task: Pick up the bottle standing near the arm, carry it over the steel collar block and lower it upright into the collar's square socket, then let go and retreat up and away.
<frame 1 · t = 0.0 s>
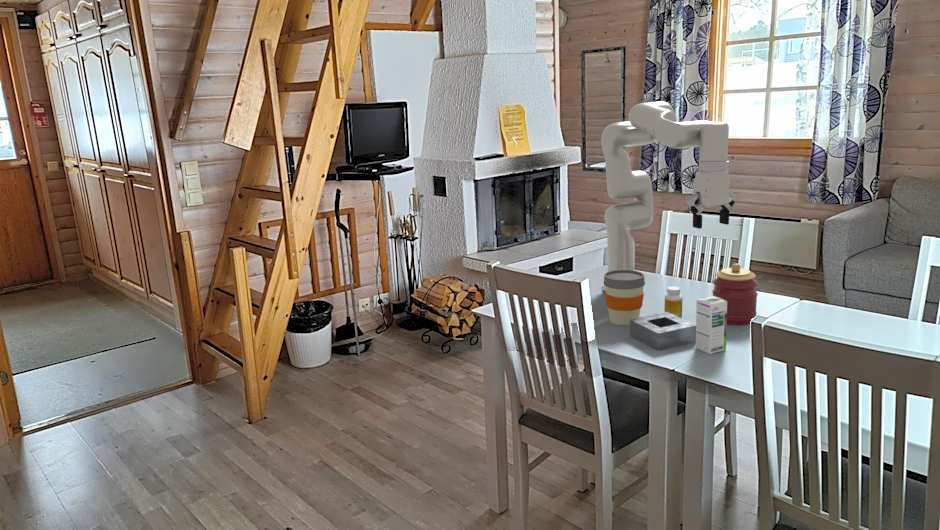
hand: (710, 225, 192), 31 cm above the table, fingers open, 9 cm apart
syrup box: (710, 350, 183), on the table
reusable coffee cup: (624, 321, 209), on the table
supplement bottle: (673, 318, 210), on the table
canister: (733, 319, 206), on the table
steel collar: (662, 338, 193), on the table
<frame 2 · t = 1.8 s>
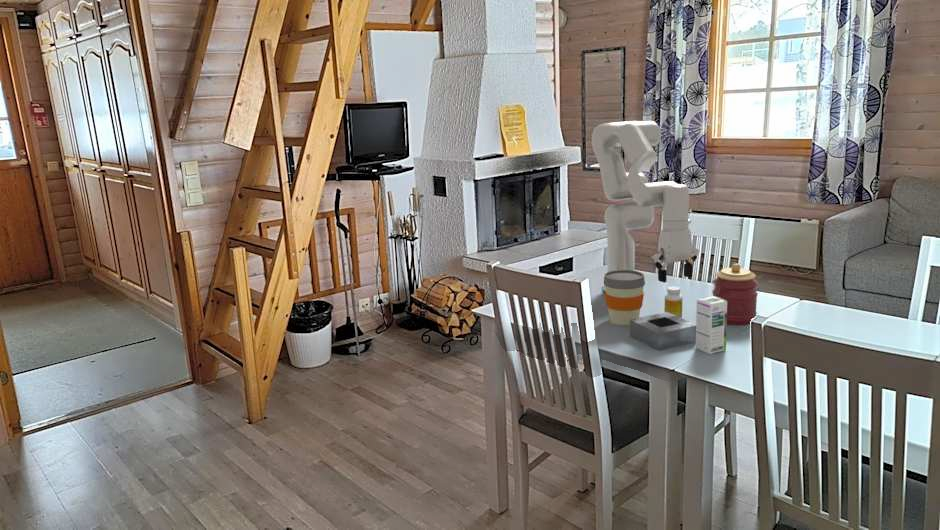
hand: (675, 279, 206), 13 cm above the table, fingers open, 9 cm apart
nothing on the table moved.
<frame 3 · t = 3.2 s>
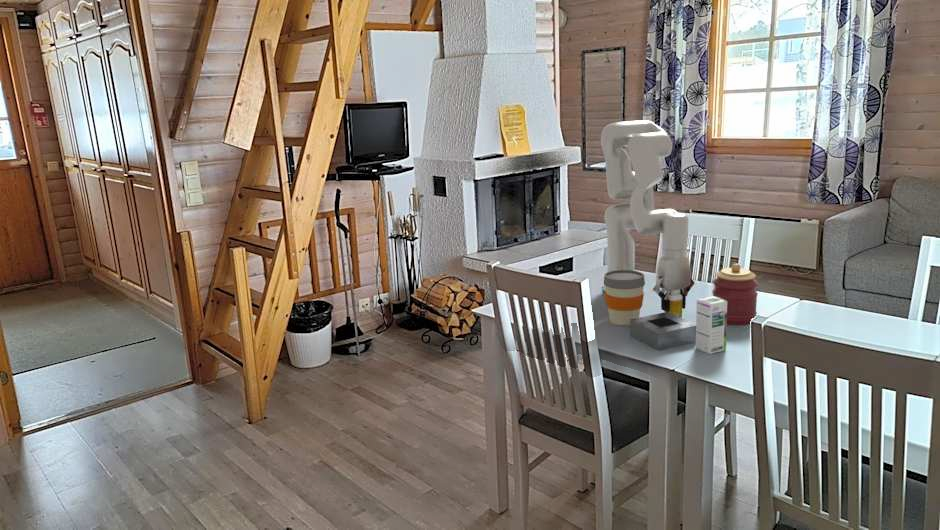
hand: (673, 308, 209), 3 cm above the table, fingers closed on supplement bottle, 5 cm apart
supplement bottle: (673, 318, 210), on the table, touching gripper
everything else where it was.
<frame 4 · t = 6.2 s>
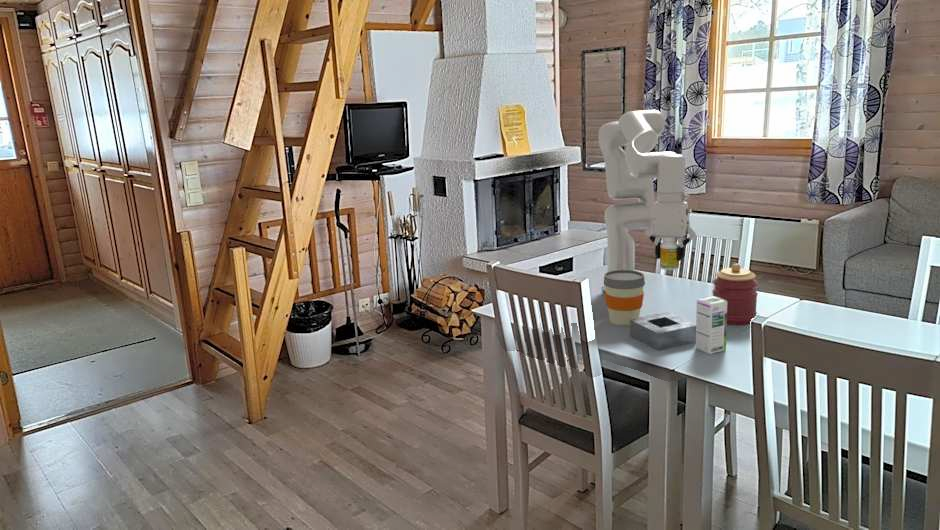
hand: (669, 258, 195), 22 cm above the table, fingers closed on supplement bottle, 5 cm apart
supplement bottle: (669, 268, 196), point 19 cm above the table, touching gripper
everything else where it was.
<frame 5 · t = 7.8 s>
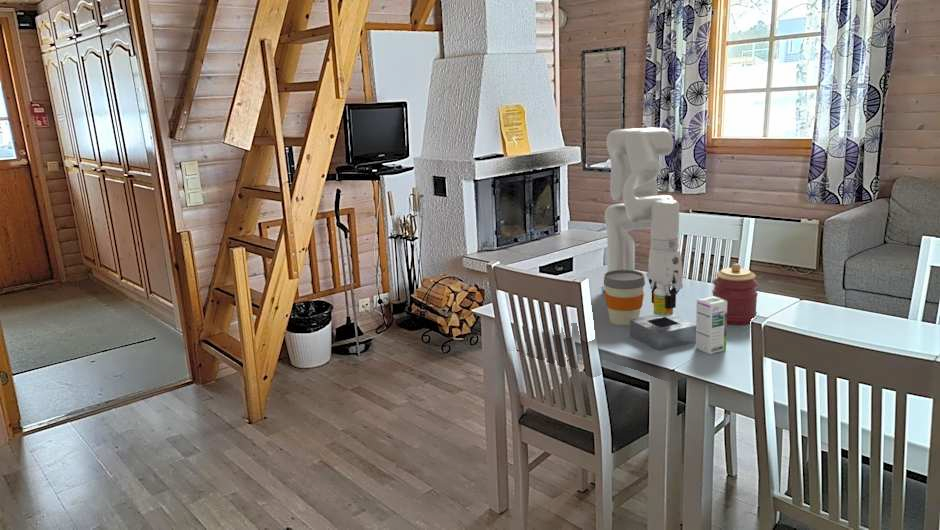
hand: (663, 304, 190), 10 cm above the table, fingers closed on supplement bottle, 5 cm apart
supplement bottle: (663, 315, 191), point 7 cm above the table, touching gripper
everything else where it was.
when the fingers open (6 cm above the table, at t = 9.2 s): supplement bottle drops 3 cm, resting in steel collar.
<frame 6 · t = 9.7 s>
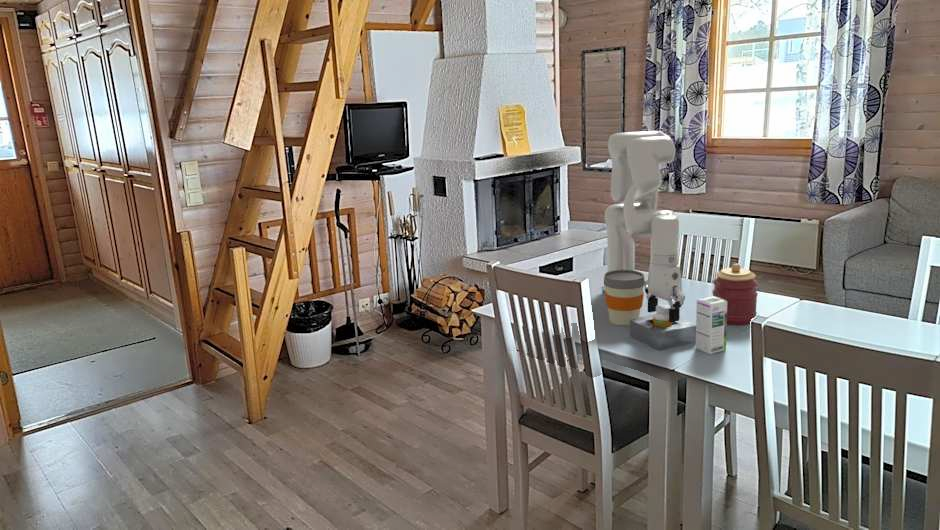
hand: (663, 316, 191), 7 cm above the table, fingers open, 9 cm apart
supplement bottle: (662, 338, 193), resting in steel collar
everything else where it was.
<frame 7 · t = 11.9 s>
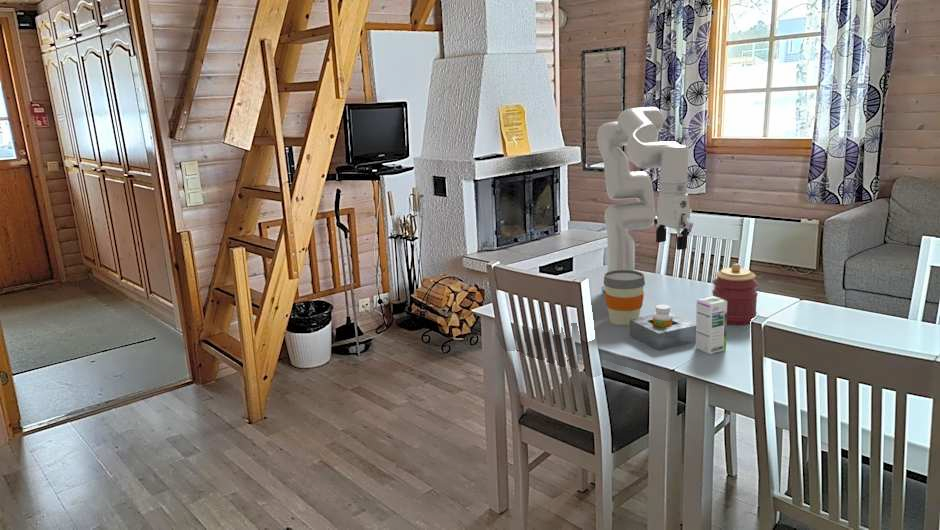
hand: (671, 245, 196), 25 cm above the table, fingers open, 9 cm apart
nothing on the table moved.
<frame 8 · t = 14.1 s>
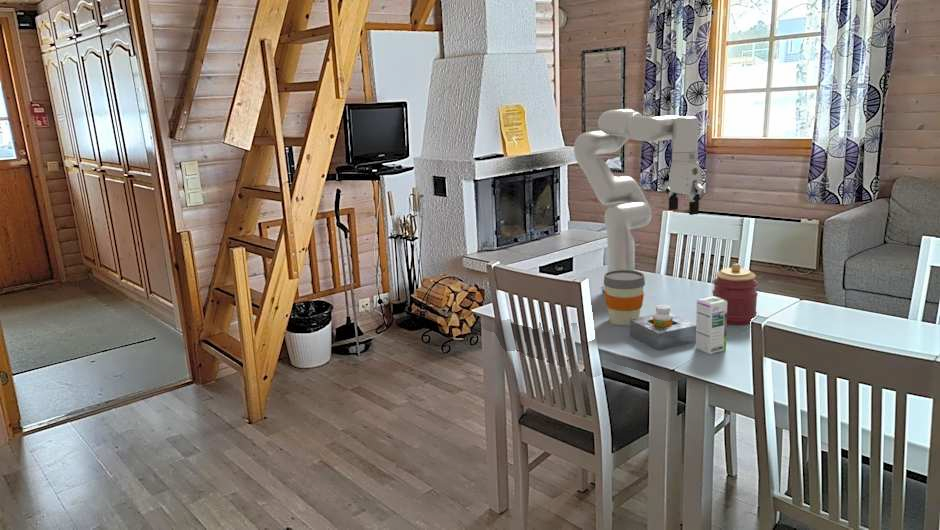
hand: (683, 212, 208), 32 cm above the table, fingers open, 9 cm apart
nothing on the table moved.
at the end: supplement bottle 0.2 cm off-centre on the steel collar, point 0.0 cm above the steel collar's base; supplement bottle tilted 0°; the gripper is holding nothing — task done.
